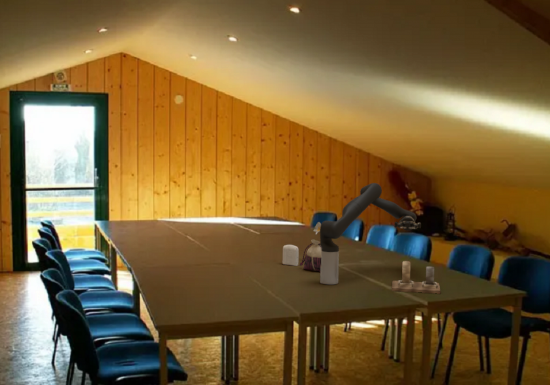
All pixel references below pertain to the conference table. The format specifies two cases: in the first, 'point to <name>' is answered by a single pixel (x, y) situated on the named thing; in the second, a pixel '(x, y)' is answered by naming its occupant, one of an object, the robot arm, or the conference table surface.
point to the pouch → (312, 256)
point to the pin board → (419, 284)
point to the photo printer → (290, 255)
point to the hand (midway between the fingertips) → (407, 226)
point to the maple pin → (406, 272)
